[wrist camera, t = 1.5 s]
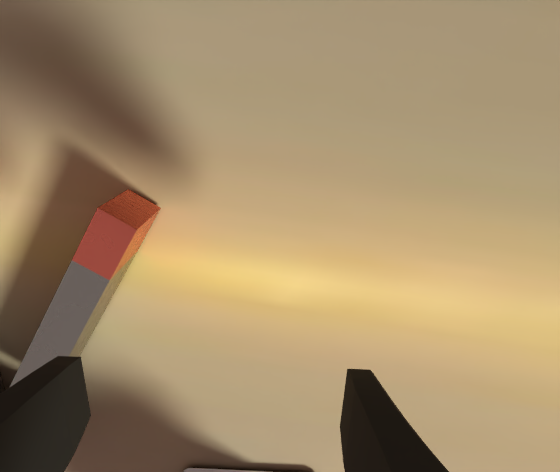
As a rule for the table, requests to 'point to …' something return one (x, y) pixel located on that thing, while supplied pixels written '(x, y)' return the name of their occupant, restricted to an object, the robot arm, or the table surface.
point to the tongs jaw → (90, 279)
